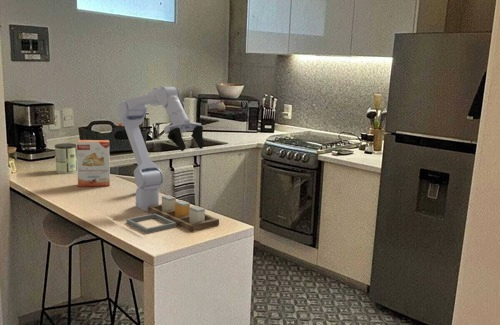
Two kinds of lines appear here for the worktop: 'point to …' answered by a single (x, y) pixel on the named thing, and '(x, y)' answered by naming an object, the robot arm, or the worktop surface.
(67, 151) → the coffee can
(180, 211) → the grey and orange block
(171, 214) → the holder
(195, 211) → the block
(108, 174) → the cracker box
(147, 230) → the tray
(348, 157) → the worktop surface
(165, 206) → the block
